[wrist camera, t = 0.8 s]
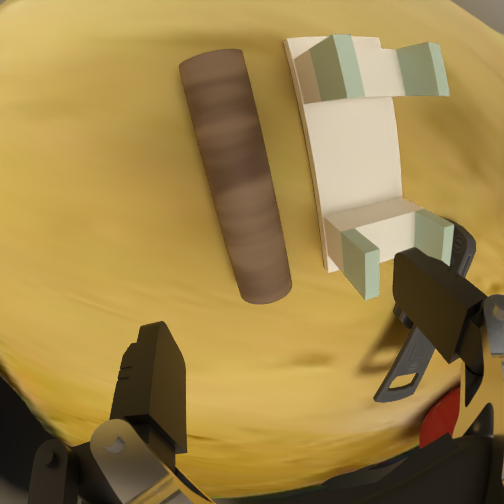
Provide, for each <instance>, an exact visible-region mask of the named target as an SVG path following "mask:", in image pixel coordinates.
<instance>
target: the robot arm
mask: <svg viewBox="0 0 504 504" xmlns="http://www.w3.org/2000/svg"><path fill="white" fill-rule="evenodd" d="M393 296H394V299H395V302H396V303H397V305H398V306H399V307H400V308H401V310H402V311H403V312H404V313H405V314H406V315H407V316H408V317H409V318H410V319H411V321H412V322H413V323H414V324H415V325H416V326H417V327H418V328H419V330H420V331H421V332H422V333H423V334H424V335H425V336H426V338H427V339H428V340H429V341H430V342H431V343H432V345H433V346H434V347H435V348H436V349H437V350H438V352H439V353H440V354H441V355H442V356H443V358H444V359H445V360H446V361H447V362H448V364H450V363H452V362H453V361H455V360H456V359H458V358H461V359H462V360H463V362H462V364H461V391H460V411H459V417H458V420H457V423H456V425H455V428H454V432H453V436H452V437H451V435H450V434H449V432H447V433H446V434H444V435H443V436H441V437H439V438H438V439H436V440H435V441H433V442H431V443H430V444H428V445H426V446H425V447H423V448H421V449H419V450H417V451H416V452H414V453H413V454H412V455H410V456H409V457H408V458H407V459H406V460H405V461H403V462H402V463H401V464H400V465H399V466H397V467H396V468H395V469H394V470H392V471H391V472H390V473H388V474H387V475H386V476H385V477H383V478H382V479H381V480H379V481H377V482H375V483H372V484H367V485H360V486H355V487H348V488H341V489H333V490H326V491H323V492H319V493H316V494H313V495H309V496H306V497H302V498H299V499H295V500H291V501H286V502H283V503H280V504H504V295H500V294H495V295H491V296H489V297H487V296H486V295H485V294H484V293H483V292H481V291H480V290H479V289H478V288H476V287H475V286H474V285H473V284H472V283H470V282H469V281H468V280H466V279H465V278H464V277H463V276H460V275H459V273H457V272H456V271H455V270H454V269H453V270H452V268H451V267H450V266H448V265H447V264H446V263H444V262H443V261H441V260H438V259H436V258H433V257H430V256H427V255H426V254H425V253H423V252H422V251H421V250H419V249H418V248H416V247H412V248H409V249H407V250H404V251H401V252H398V253H396V254H395V256H394V271H393ZM120 369H121V370H120V371H119V375H118V381H117V384H116V388H115V393H114V398H113V403H112V408H111V414H110V419H109V420H108V421H106V422H104V423H102V424H101V425H100V426H98V427H97V429H96V430H95V431H94V433H93V435H92V437H91V441H90V442H87V443H84V444H81V445H78V446H75V447H71V448H68V447H67V446H66V445H65V444H63V443H62V442H61V441H59V440H54V439H53V440H48V441H46V442H45V443H43V444H42V445H41V446H40V447H39V449H38V450H37V452H36V455H35V458H34V464H33V469H32V475H31V481H30V489H29V497H28V504H77V500H78V498H79V499H81V500H82V502H81V504H216V503H215V502H213V500H211V499H210V498H209V497H208V496H207V495H206V494H205V493H204V492H203V491H202V490H200V489H199V488H198V487H197V486H196V485H195V484H194V483H193V482H192V481H191V480H190V479H189V478H188V477H187V476H186V475H185V474H184V473H183V472H182V471H181V470H180V469H179V468H178V467H177V466H176V465H175V454H181V453H187V434H186V367H185V362H184V359H183V356H182V353H181V351H180V350H179V348H178V346H177V344H176V342H175V340H174V339H173V337H172V335H171V333H170V331H169V329H168V327H167V325H166V324H165V322H163V321H160V322H155V323H151V324H147V325H143V326H141V327H140V330H139V334H138V339H137V343H132V344H130V346H129V347H128V349H127V350H126V352H125V353H124V355H123V357H122V362H121V366H120Z"/></svg>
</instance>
